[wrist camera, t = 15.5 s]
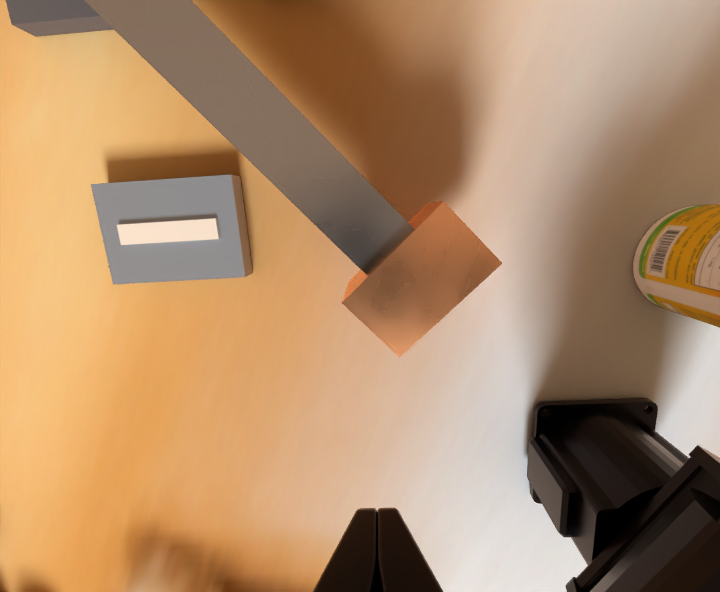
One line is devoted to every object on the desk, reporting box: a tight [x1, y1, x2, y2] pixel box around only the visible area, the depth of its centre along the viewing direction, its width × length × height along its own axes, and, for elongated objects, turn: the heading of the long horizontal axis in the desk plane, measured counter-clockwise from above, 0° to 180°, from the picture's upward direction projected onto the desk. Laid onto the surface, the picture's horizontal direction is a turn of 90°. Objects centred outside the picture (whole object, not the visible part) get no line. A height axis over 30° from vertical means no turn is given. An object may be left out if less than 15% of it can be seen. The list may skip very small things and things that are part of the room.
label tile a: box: [91, 174, 253, 284], centre depth 19 cm, size 7×5×1 cm
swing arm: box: [84, 0, 502, 357], centre depth 14 cm, size 24×5×5 cm, turn 46°
